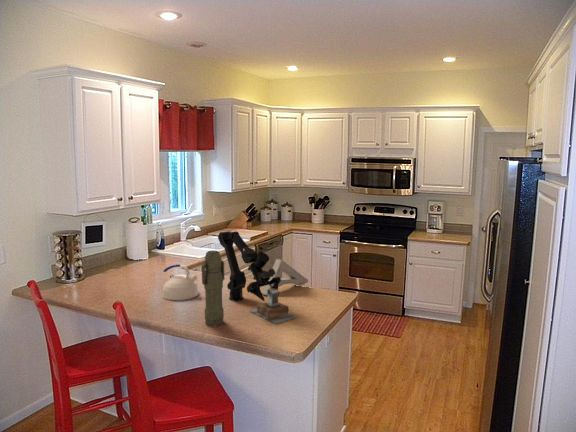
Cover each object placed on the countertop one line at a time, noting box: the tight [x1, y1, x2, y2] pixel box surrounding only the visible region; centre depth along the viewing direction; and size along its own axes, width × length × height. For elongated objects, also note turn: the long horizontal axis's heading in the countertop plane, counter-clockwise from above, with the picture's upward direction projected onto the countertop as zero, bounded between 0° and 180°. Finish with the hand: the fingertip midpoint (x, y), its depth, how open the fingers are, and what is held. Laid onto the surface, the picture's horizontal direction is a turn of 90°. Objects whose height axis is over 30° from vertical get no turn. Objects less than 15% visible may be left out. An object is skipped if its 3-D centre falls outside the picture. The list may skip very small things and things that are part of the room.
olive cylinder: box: [201, 250, 226, 327], centre depth 216 cm, size 9×12×35 cm
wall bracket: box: [261, 258, 309, 296], centre depth 272 cm, size 22×4×30 cm
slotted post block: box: [249, 301, 298, 325], centre depth 228 cm, size 22×13×5 cm, turn 40°
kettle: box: [162, 263, 199, 301], centre depth 260 cm, size 20×21×18 cm
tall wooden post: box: [266, 288, 279, 309], centre depth 227 cm, size 4×4×12 cm
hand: (271, 298), depth 228 cm, fingers open, 9 cm apart
